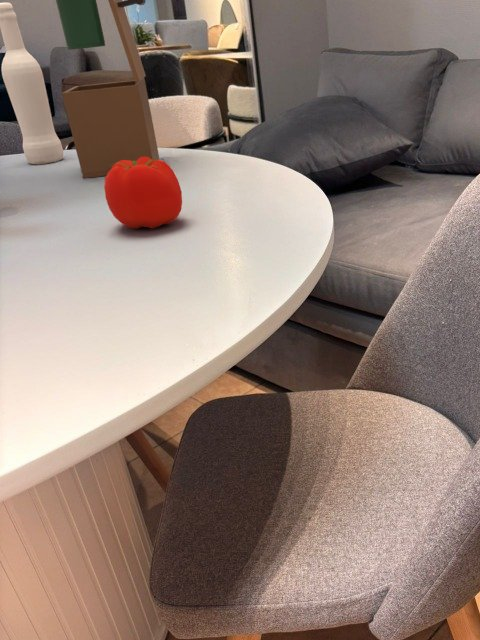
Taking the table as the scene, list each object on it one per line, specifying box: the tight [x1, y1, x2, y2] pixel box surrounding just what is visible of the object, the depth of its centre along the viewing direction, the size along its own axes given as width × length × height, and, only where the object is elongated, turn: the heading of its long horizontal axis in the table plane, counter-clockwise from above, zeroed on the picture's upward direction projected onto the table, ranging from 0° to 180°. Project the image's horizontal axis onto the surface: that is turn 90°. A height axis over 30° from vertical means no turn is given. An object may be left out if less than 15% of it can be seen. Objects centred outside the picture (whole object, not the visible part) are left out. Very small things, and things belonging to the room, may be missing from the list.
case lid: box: [108, 0, 147, 83], centre depth 116 cm, size 14×14×5 cm
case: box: [61, 78, 160, 179], centre depth 124 cm, size 14×14×15 cm
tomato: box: [103, 157, 183, 229], centre depth 87 cm, size 11×11×9 cm
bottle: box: [0, 2, 64, 165], centre depth 134 cm, size 8×8×30 cm
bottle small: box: [55, 0, 106, 50], centre depth 108 cm, size 6×6×13 cm
